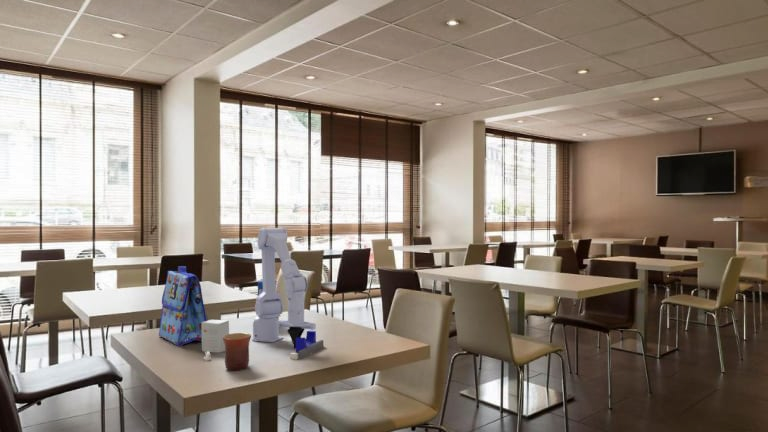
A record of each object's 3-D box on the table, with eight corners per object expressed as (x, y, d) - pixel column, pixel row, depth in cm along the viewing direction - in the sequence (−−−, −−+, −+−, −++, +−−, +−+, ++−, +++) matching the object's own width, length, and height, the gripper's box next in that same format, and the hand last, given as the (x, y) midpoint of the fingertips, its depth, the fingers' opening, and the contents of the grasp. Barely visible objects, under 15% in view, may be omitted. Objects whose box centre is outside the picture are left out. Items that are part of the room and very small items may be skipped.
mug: (248, 371, 161) (248, 338, 161) (219, 372, 160) (219, 339, 160) (255, 361, 173) (254, 330, 173) (228, 362, 172) (228, 331, 172)
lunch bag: (157, 336, 209) (157, 265, 209) (191, 331, 218) (191, 263, 218) (176, 347, 192) (176, 269, 192) (212, 341, 201) (212, 266, 201)
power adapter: (212, 361, 175) (212, 351, 175) (205, 362, 173) (205, 353, 173) (208, 359, 177) (208, 350, 177) (200, 360, 175) (200, 351, 175)
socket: (290, 358, 175) (290, 351, 175) (316, 345, 193) (316, 338, 193) (299, 359, 174) (299, 352, 174) (324, 346, 192) (324, 339, 192)
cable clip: (304, 346, 192) (304, 330, 192) (315, 347, 191) (315, 331, 191) (291, 355, 180) (291, 338, 180) (303, 355, 179) (303, 338, 179)
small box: (229, 349, 188) (229, 320, 188) (220, 353, 183) (219, 323, 183) (211, 347, 191) (211, 319, 191) (201, 351, 186) (201, 322, 186)
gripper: (272, 310, 184) (272, 349, 184) (309, 313, 179) (309, 352, 179) (282, 307, 191) (282, 344, 191) (318, 310, 186) (318, 347, 186)
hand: (296, 348), depth 185 cm, fingers closed, pressing on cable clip
